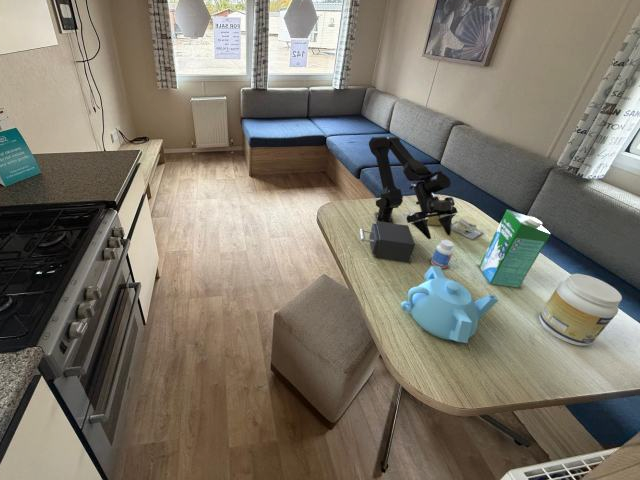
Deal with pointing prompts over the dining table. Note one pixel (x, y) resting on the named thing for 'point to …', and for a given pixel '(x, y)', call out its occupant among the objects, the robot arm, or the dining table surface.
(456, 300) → the teapot
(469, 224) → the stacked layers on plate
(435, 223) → the rock
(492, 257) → the milk carton
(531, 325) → the dining table surface
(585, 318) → the supplement tub
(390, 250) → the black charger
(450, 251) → the pill bottle
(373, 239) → the drawer
